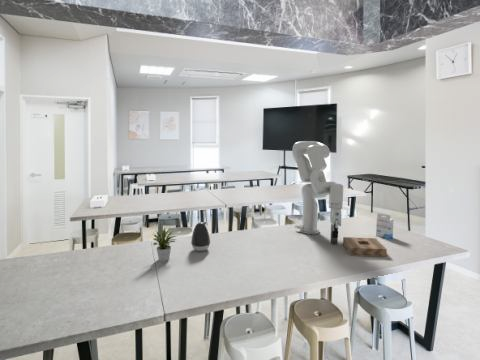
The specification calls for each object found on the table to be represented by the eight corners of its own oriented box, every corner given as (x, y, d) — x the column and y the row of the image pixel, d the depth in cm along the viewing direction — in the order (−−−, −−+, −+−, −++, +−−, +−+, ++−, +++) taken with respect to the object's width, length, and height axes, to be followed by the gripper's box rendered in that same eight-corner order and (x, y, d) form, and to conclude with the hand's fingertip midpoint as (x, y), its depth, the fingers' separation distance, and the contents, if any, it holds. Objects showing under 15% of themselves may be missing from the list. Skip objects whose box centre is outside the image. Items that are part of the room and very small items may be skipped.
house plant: (162, 268, 145) (161, 234, 143) (142, 262, 152) (140, 229, 150) (183, 258, 157) (182, 227, 155) (163, 253, 164) (162, 223, 162)
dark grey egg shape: (213, 248, 172) (213, 221, 170) (203, 254, 163) (203, 226, 161) (198, 245, 176) (197, 219, 175) (187, 251, 167) (187, 223, 165)
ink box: (393, 237, 191) (394, 214, 189) (389, 239, 188) (390, 215, 186) (379, 234, 197) (380, 211, 196) (375, 235, 194) (376, 212, 192)
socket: (349, 255, 162) (350, 247, 161) (343, 243, 179) (343, 237, 179) (386, 256, 159) (386, 249, 159) (375, 245, 177) (376, 238, 177)
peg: (330, 244, 178) (331, 224, 177) (329, 242, 182) (330, 222, 181) (338, 244, 178) (339, 224, 176) (336, 242, 182) (337, 222, 180)
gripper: (345, 208, 168) (343, 241, 171) (339, 202, 185) (338, 232, 187) (331, 208, 169) (329, 240, 172) (326, 202, 186) (325, 231, 188)
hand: (334, 236), depth 180 cm, fingers closed on peg, 4 cm apart
